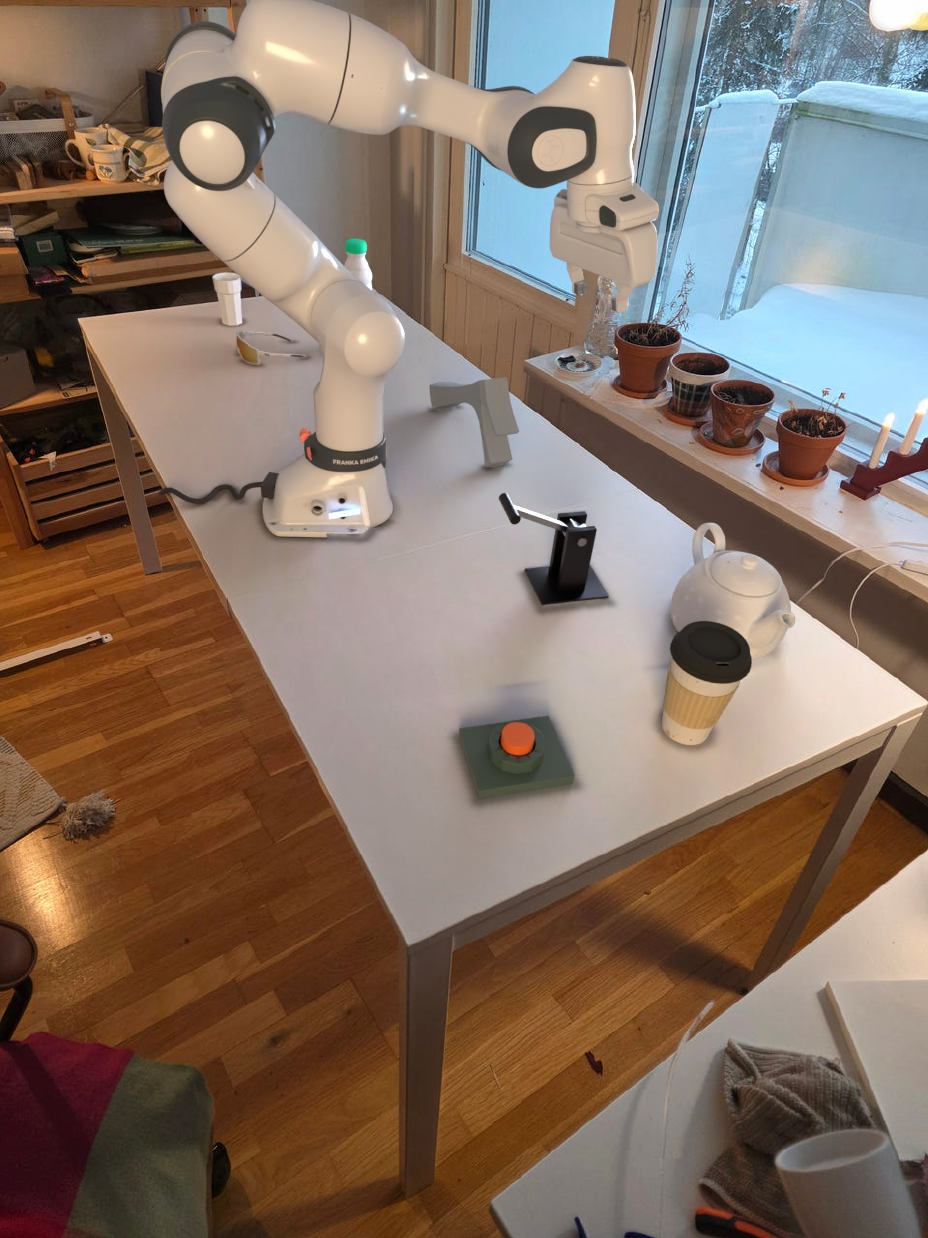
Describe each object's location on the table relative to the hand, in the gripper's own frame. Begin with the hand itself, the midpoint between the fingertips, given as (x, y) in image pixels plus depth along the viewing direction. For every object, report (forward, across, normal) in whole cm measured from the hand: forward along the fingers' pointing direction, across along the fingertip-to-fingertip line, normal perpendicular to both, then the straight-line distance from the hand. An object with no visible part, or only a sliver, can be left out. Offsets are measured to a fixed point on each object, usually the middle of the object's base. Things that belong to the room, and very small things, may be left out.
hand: (599, 301), depth 118 cm
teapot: (+41, +32, -1) cm, 52 cm away
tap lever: (+24, +13, -20) cm, 34 cm away
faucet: (+36, -36, -5) cm, 51 cm away
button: (+32, +39, -43) cm, 66 cm away
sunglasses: (+29, -90, -27) cm, 99 cm away
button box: (+35, +39, -43) cm, 68 cm away
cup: (+27, -113, -29) cm, 120 cm away
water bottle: (+32, -85, -7) cm, 91 cm away
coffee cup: (+39, +45, -20) cm, 63 cm away
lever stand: (+37, +14, -17) cm, 43 cm away
